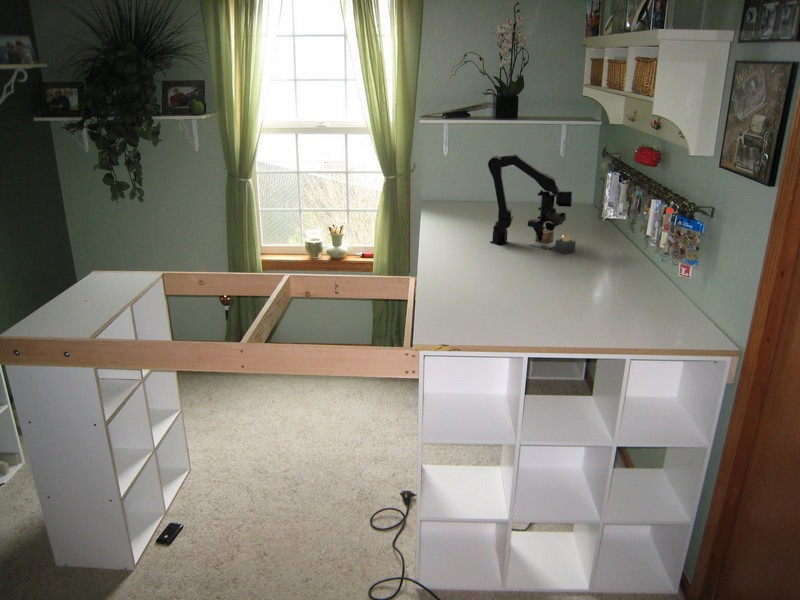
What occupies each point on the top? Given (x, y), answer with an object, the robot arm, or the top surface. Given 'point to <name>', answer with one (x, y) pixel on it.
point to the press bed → (543, 245)
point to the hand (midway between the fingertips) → (544, 239)
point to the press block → (565, 246)
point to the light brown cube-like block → (546, 237)
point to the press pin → (565, 237)
